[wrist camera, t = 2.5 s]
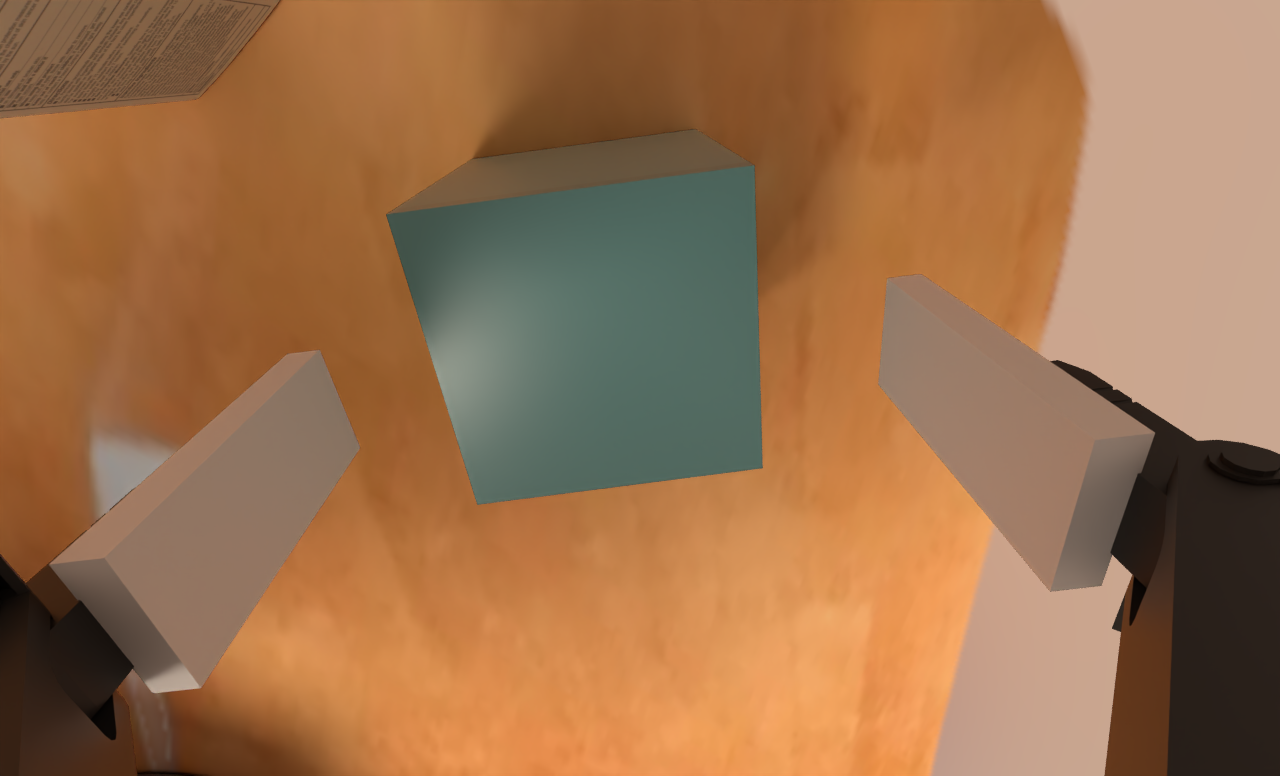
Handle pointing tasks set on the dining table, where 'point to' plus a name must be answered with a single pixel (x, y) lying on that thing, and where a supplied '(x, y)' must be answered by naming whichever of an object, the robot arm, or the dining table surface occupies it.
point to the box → (117, 51)
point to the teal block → (592, 312)
